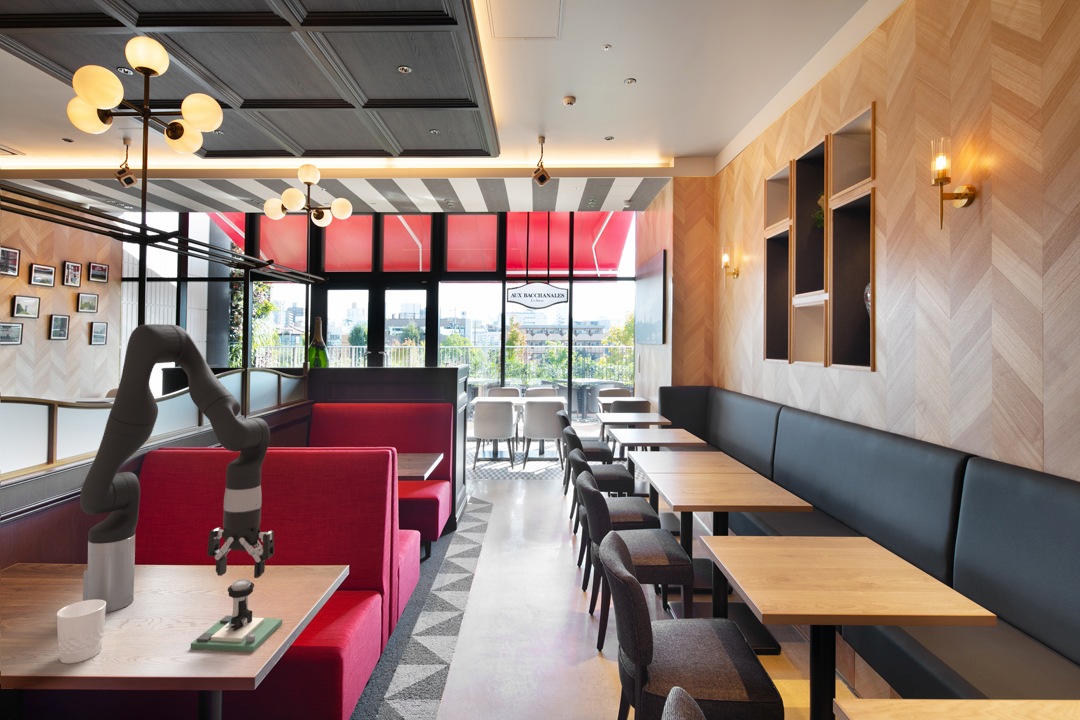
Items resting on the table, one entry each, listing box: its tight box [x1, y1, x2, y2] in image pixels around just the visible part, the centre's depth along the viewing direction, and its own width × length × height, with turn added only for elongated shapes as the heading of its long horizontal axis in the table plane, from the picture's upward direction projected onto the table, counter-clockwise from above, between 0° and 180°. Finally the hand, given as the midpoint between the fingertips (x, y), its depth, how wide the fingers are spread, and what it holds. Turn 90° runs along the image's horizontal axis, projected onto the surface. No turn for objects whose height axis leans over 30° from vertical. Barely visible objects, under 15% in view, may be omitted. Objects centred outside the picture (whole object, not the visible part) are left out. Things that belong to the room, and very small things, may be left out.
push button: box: [225, 578, 255, 632], centre depth 120 cm, size 7×5×10 cm
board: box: [190, 615, 283, 653], centre depth 120 cm, size 14×12×2 cm
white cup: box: [56, 600, 106, 664], centre depth 111 cm, size 8×8×10 cm
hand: (240, 575), depth 120 cm, fingers open, 8 cm apart
